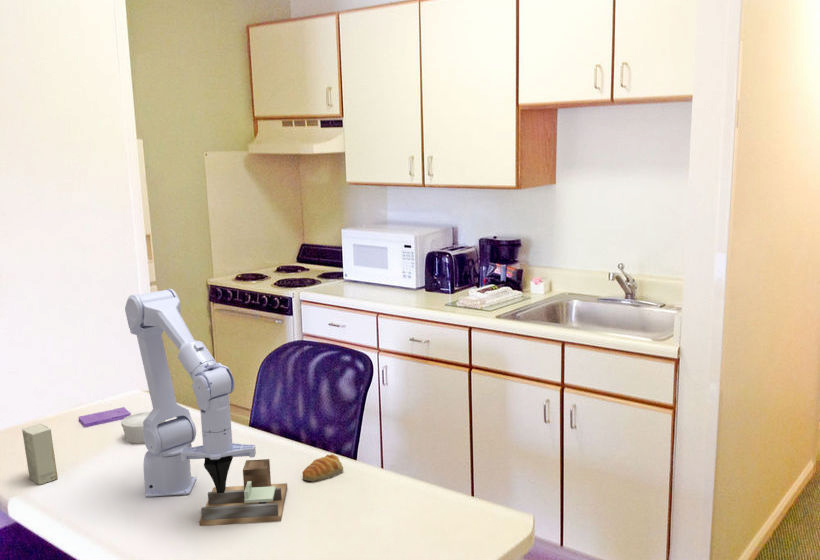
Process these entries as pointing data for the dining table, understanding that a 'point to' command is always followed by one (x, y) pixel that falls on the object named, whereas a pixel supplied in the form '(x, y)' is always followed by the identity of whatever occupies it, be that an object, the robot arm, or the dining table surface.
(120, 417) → the purple flat block
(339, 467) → the pastry
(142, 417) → the ramekin
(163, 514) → the dining table surface
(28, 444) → the skincare box
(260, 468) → the brown block
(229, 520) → the board
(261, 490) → the cover
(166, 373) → the robot arm
